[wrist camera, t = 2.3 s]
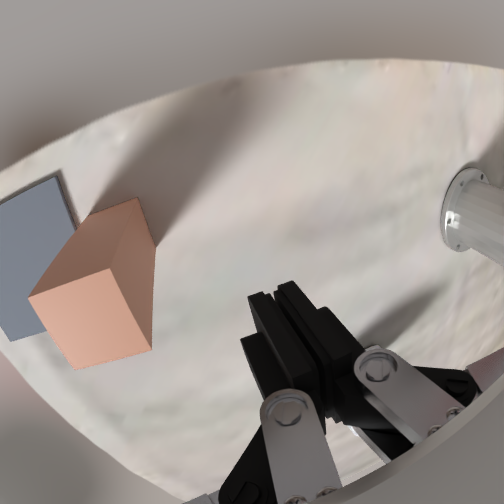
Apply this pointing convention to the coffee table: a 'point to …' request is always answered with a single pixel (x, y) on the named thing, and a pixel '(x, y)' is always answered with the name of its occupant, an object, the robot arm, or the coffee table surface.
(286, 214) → the coffee table surface
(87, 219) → the terracotta block
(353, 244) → the coffee table surface
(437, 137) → the coffee table surface
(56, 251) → the mat
